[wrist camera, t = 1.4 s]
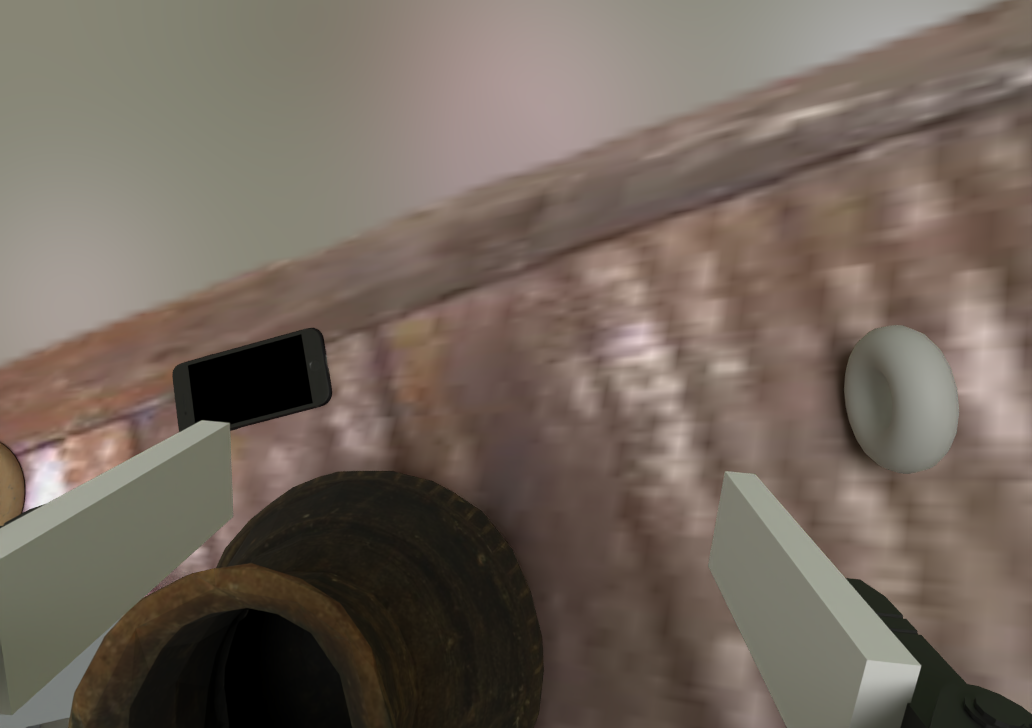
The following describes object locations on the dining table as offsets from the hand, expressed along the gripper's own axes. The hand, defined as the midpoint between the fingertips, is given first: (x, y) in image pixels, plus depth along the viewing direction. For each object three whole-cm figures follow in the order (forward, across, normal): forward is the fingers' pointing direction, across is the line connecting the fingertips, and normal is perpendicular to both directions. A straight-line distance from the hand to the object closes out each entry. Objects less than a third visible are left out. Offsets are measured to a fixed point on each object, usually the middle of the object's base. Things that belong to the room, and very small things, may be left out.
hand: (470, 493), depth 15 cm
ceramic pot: (+26, +7, +25) cm, 36 cm away
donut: (+29, -26, +4) cm, 39 cm away
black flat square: (+35, +24, +9) cm, 43 cm away
